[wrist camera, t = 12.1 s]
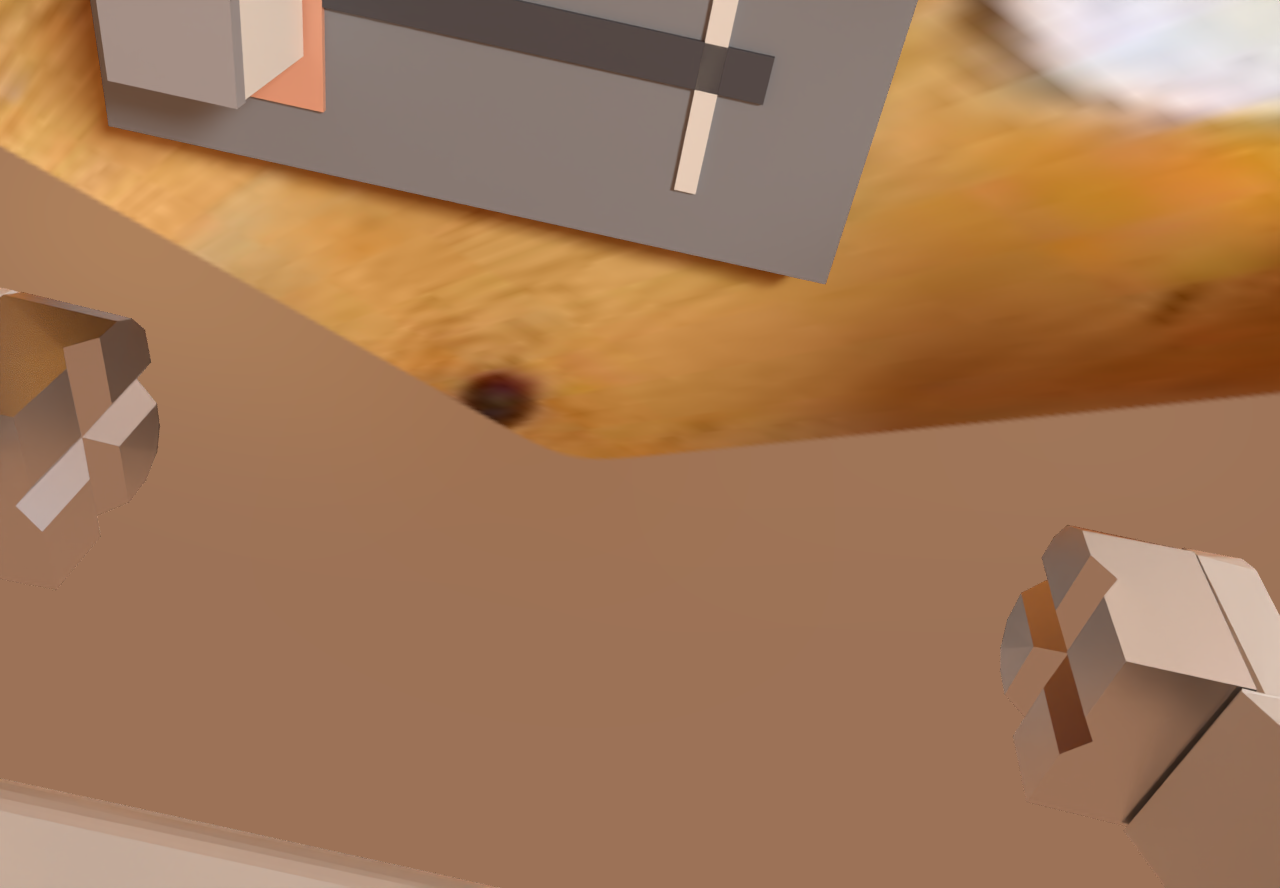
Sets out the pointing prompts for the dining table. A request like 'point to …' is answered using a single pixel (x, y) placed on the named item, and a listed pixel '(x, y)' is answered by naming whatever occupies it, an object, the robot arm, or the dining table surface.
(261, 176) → the dining table surface
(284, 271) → the dining table surface
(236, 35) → the fader knob
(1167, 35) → the dining table surface
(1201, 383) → the dining table surface
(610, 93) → the console board
